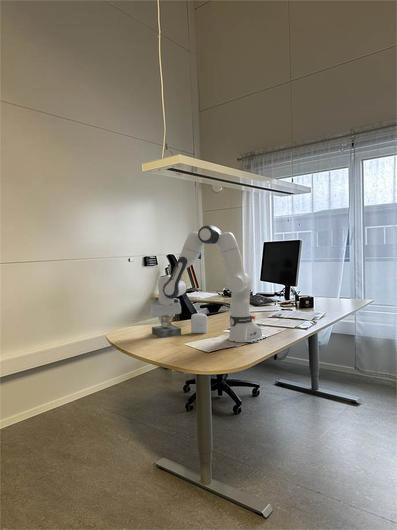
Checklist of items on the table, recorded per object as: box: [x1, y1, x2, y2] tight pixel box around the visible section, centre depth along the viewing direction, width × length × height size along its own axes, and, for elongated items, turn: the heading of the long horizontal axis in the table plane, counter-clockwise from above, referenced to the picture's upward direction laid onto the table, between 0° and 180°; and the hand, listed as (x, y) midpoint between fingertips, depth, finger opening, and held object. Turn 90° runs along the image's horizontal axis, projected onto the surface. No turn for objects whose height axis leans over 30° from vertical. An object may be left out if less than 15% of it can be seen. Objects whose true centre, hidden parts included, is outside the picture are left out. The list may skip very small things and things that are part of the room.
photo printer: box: [190, 313, 208, 334], centre depth 226 cm, size 10×4×12 cm, turn 84°
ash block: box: [160, 315, 172, 327], centre depth 224 cm, size 5×5×6 cm
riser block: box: [151, 323, 182, 339], centre depth 225 cm, size 14×14×4 cm
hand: (166, 322), depth 224 cm, fingers closed on ash block, 5 cm apart
